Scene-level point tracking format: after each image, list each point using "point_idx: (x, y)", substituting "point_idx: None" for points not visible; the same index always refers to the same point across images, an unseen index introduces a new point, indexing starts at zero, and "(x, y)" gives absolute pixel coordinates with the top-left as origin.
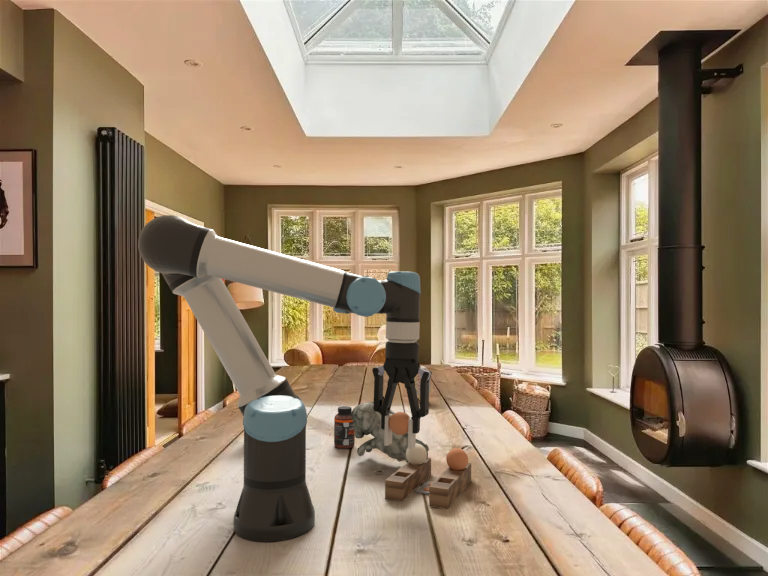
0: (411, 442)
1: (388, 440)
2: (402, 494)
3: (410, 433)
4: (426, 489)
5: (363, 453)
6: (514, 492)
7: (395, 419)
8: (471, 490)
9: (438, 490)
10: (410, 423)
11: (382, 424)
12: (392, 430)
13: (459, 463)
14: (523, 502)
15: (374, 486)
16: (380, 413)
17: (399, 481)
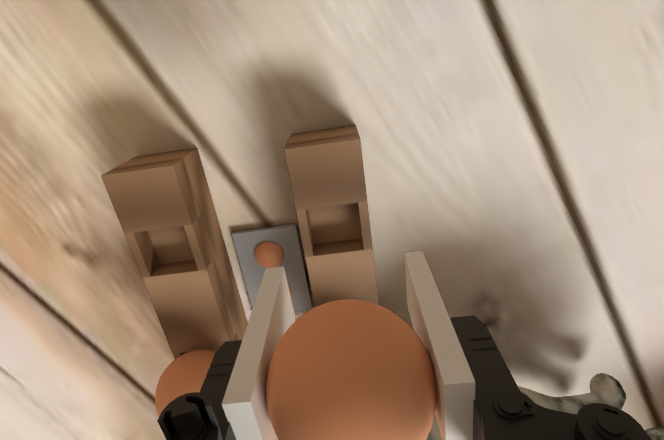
0: (259, 292)
1: (409, 280)
2: (289, 140)
3: (254, 323)
4: (270, 249)
5: (592, 384)
6: (72, 357)
7: (355, 361)
8: None
9: (140, 167)
10: (241, 375)
11: (480, 338)
12: (378, 305)
13: (170, 365)
14: (9, 309)
15: (444, 204)
16: (538, 407)
17: (301, 155)
